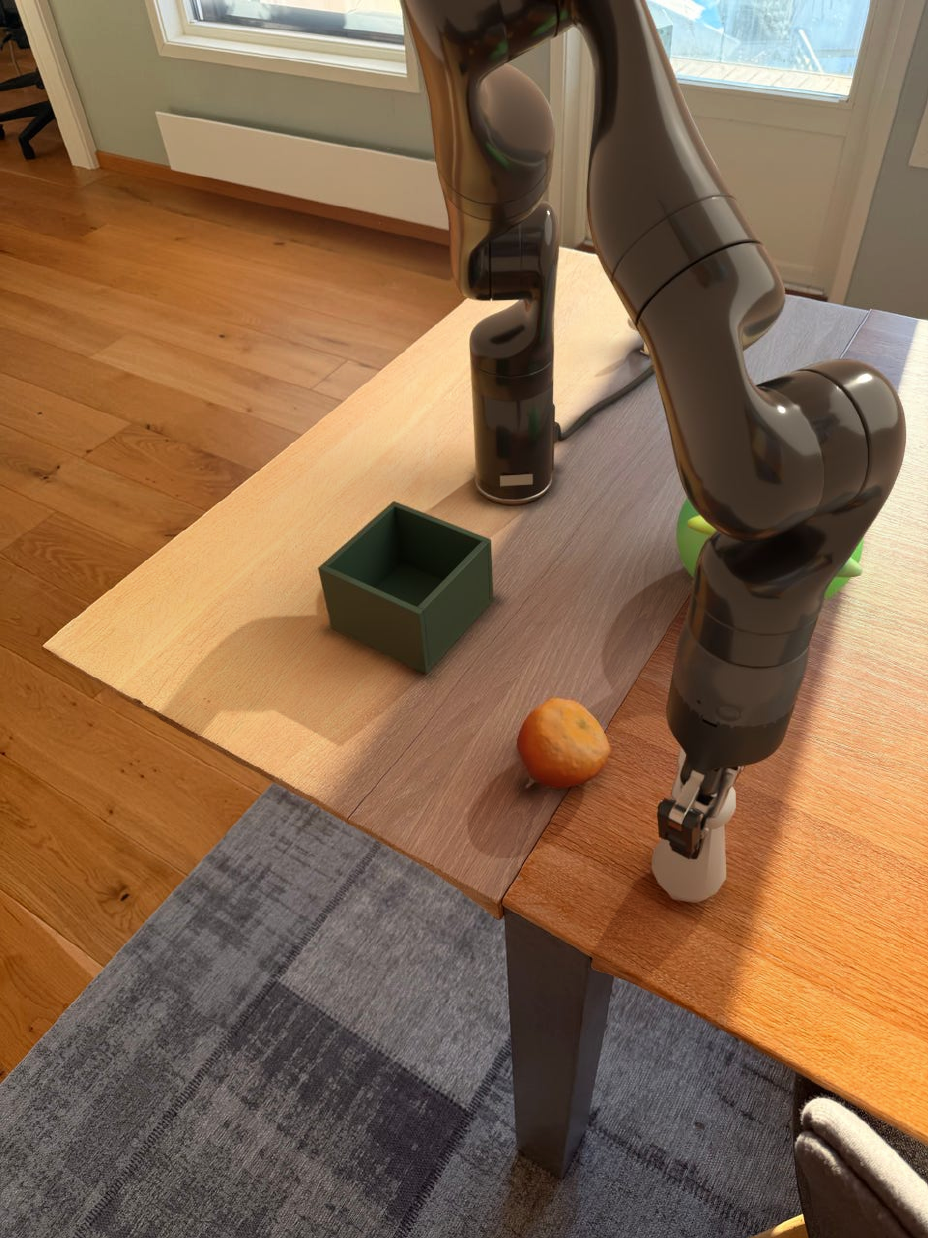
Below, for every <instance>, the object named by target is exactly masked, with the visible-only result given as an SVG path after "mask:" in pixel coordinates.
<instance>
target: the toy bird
mask: <svg viewBox="0 0 928 1238" xmlns="http://www.w3.org/2000/svg"><path fill="white" fill-rule="evenodd" d="M715 530H716V529H715V528H713V527H712V526H711V525H710V524H708V523H707V522H706V521H705V520H704V519H703V518H702V517H701V516H700V514H699V513H698V512H697V511H696V510H695V508H694V507H693V506H692V504H691V502H690V501H689V499H688V497H687V496H686V499H685V501H684V502H683V504H682V506H681V509H680V511H679V515H678V518H677V522H676V534H675V536H676V537H675V539H676V546H677V551H678V554H679V557H680V560H681V563H682V564H683V566H684V568H685V569H686V571H687V573H688V574H689V575H690V576H691V578H693V576H694V571H695V566H696V562H697V559H698V556H699V553H700V551H701V548H702V546H703V544H704V543H705V541H706V540H707V539H708V538H709V537H710V535H711V534H712V533H713V532H714V531H715ZM864 537H865V536H864ZM864 537H863V538H862V540H861V541H860V543H859V544H858V546H857V548H856V549H855V551H854V552H853V554H852V555H851V557H850V558H849V560H848V561H847V562H846V563H845V565H844V566H843V567H842V569H841V570H840V571H839V572H838V574H837V575H836V576H835V578H834V579H833V581H832V582H831V584H830V585H829V587H828V589H827V591H826V595H825V599H824V601H826V600H828V599H829V598H831V597H832V596H834V595H835V594H837V593H838V592H839V591H840V590H841V589H843V587H844V586H845V585H846V584H848V582H849V581H850V580H851V578H856V577H859V576H861V575H862V574H863V571H864V570H863V567H862V566H861V564H859V563H860V562H861V561H860V560H861V558H862V554H863V549H864V540H865V538H864Z"/></svg>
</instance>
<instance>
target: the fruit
mask: <svg viewBox="0 0 928 1238" xmlns="http://www.w3.org/2000/svg"><path fill="white" fill-rule="evenodd" d="M516 747H517V748H516V749H517V752H518V754H519V756H520V759H521V762H522V763H523V766H524V770H525V771H526V773H527V776H528V778H529V781H528V783H527V784H526V785H525V788H526V789H529V787H530V788H531V786H532V785H534V783H537V784H539V785H540V786H542V787H547V788H552V789H559V790H560V789H561V790H562V789H569V788H572V787H576V786H581V785H582V784H584V783H587V782H589V781H591V780H593V779H594V778H595V777H597V776H598V775H599V774H600V773H601V772H602V771H603V769H605V767H606V764H607V761H608V759H609V756H610V755H611V751H612V749H611V746H610V744H609V739H608V737H607V735H606V733H605V731H604V730H603V728H602V726H601V725H600V723H599V722H598V720H597V719H596V718H595V717H594V716H593V714H591V712H590V711H589V710H588V709H587V708H586V707H585V706H584V705H582V704H581V703H579V702H578V701H576V700H573V699H569V698H567V699H566V698H565V699H563V698H561V697H551V698H548V699H547V700H546V701H544V702H543V703H542V704H541V705H538V706H537V707H535V708H534V709H532V710H531V711H530V712H529V713H528V715H527V716H526V717H525V719H524V721H523V722H522V724H521V727H520V728H519V731H518V735H517V739H516Z"/></svg>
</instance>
